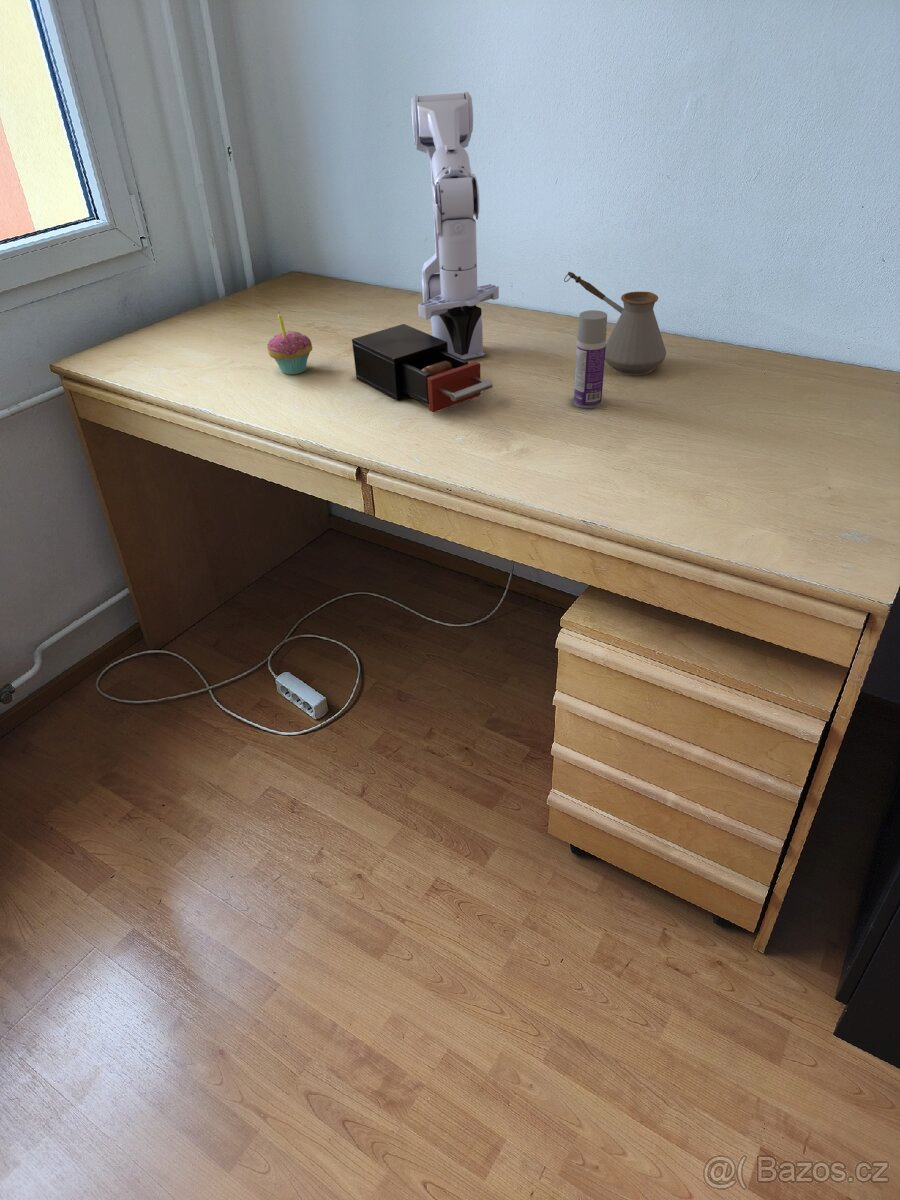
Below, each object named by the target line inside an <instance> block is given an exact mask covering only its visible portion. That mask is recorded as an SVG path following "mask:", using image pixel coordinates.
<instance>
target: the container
mask: <svg viewBox="0 0 900 1200" xmlns="http://www.w3.org/2000/svg"><path fill="white" fill-rule="evenodd" d="M607 329H608V313H607V312H605V311H602V310H597V309H596V310H594V309H593V310H584V311H582V312H579V315H578V327H577V338H576V354H575V372H574V391H573V392H574V393H573V404H574V405H575V406H576V407H578V408H580V409H586V410H587V409H596V408H598V407H600V406H601V405H602V398H603V387H604V374H605V362H606V361H605V350H606V343H607Z"/></svg>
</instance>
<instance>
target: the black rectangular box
mask: <svg viewBox="0 0 900 1200" xmlns="http://www.w3.org/2000/svg"><path fill="white" fill-rule="evenodd" d="M351 343H352V352H353V360H354V368H355V375H356V376H355V377H356V380H358V381H360V382H361V383H363V384H365V385H367V386H369V387H370V388H373V389H374V390H377V391H378V392H380V393H382V394H384V395H385V396H388V397H390V398H392V399H393V400H395V401H401V400H404V399H407V398H410V397H411V396H409V395H407V394H405V393H403V392H401V391H400V382H399V370H398V362H400V361H404V360H407V359H410V358H413V357H416V356H419V355H422V354H425V353H429V352H432V351H435V350H438V349H440V350H443V351H445V352H447V353H448V347H447V346H448V344H447V342H446V341H443V340H441V339H439V338H436V337H434V336H432V334H429V333H427V332H424V331H422V330H419V329H417V328H415V327H412V326H410V325H407V324H405V323H402V324H399V325H395V326H391V327H388V328H384V329H382V330H381V329H380V330H378V331H374V332H371V333H368V334H365V335H361V336H358V337H355V338H351Z"/></svg>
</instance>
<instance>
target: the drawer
mask: <svg viewBox="0 0 900 1200" xmlns="http://www.w3.org/2000/svg"><path fill="white" fill-rule="evenodd" d="M442 361H448V362H450V363H451V365H452V367H453V368H454V369H452V370H449V371H446V372H443V373H440V374H437V375H434V376H431V377H430V375H429V374H428V373H426V372H424V371H421V370H422V369H423V368H425V367H427V366H430V365H433V364H436V363H439V362H442ZM398 370H399V382H400V391H401V392H403V393H405V394H407V395H409V396H410V397H411V398H413V399H415V400H417V401H419V402H421V403H423V404H424V405H427V406H428V411H429V412H431V413H433V414H434V413H437V412H439V411H442V410H445V409H448V408H450V407H453V406H455V405H459V404H462V403H464V402H467V401H469V400H472V399H475V398H478V397H480V396H482V392H485V391H487V390H490V389H492V388H493V387H494V385H493V381H492V380H491V379H487V380H485V379H482V377H481V362H479V361H473V362H469V361H468V360H467V359H466V360H463V359H461V358H459V357H457V356H454V355H452V354H450V353H447V352H445V351H443V350H440V349H438V350H435V351H432V352H429V353H425V354H422V355H419V356H416V357H413V358H410V359H407V360H404V361H400V362H398Z"/></svg>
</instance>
